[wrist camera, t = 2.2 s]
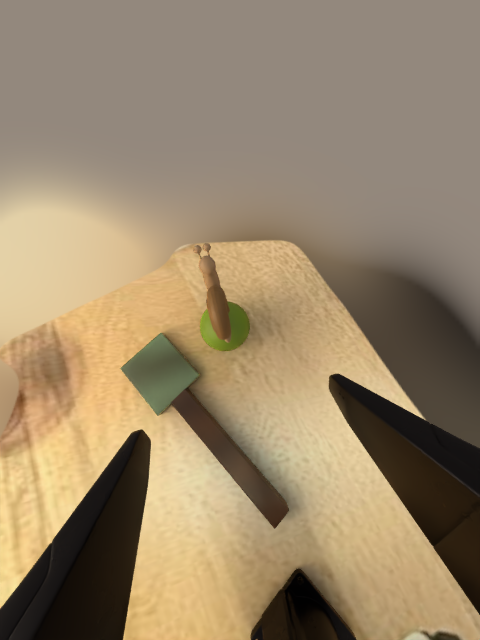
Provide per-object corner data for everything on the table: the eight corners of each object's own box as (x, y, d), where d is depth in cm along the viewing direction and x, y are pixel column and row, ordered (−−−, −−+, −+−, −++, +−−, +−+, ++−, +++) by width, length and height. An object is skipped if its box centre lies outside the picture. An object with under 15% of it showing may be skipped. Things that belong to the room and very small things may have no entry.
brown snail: (240, 299, 25) (238, 233, 13) (254, 346, 23) (266, 318, 12) (199, 309, 24) (161, 251, 13) (210, 358, 23) (178, 342, 11)
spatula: (299, 484, 19) (303, 491, 18) (258, 538, 18) (259, 549, 17) (163, 333, 24) (159, 331, 22) (123, 368, 22) (116, 368, 21)
